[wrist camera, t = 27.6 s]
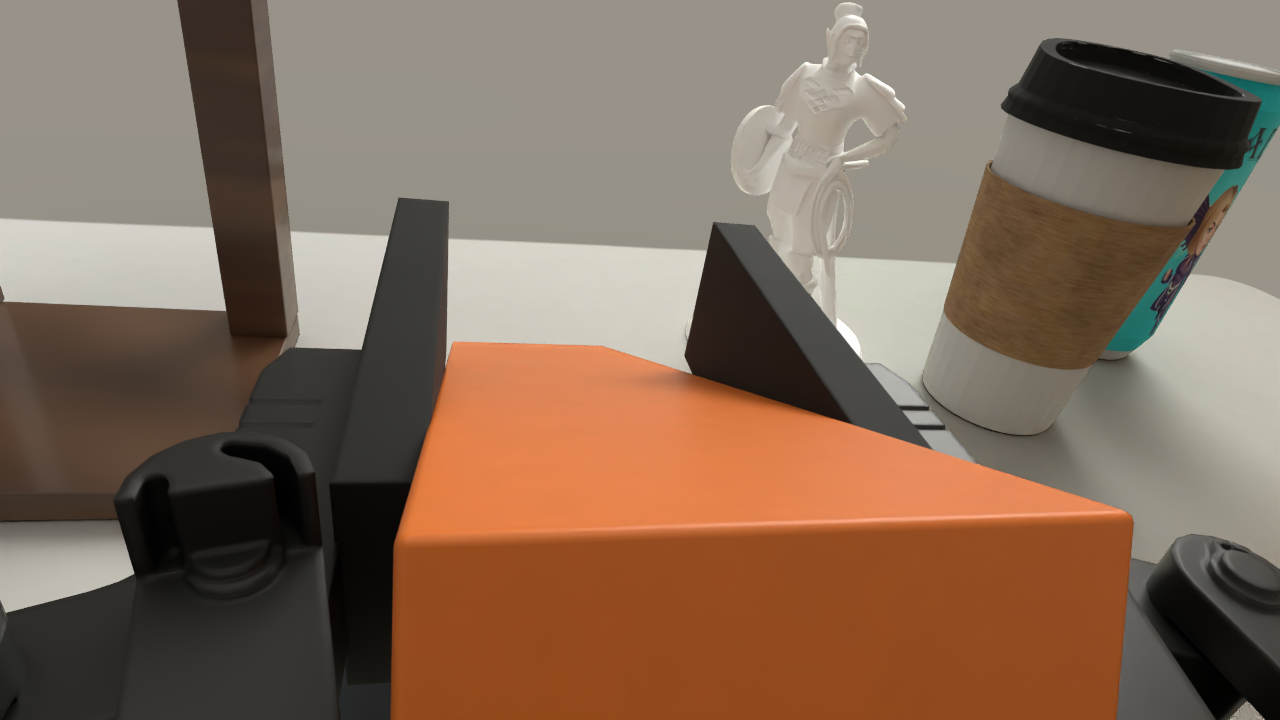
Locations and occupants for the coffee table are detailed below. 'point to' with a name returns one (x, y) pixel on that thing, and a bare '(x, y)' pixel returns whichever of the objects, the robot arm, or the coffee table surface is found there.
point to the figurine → (816, 155)
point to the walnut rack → (154, 337)
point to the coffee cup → (1076, 223)
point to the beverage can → (1275, 111)
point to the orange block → (730, 560)
